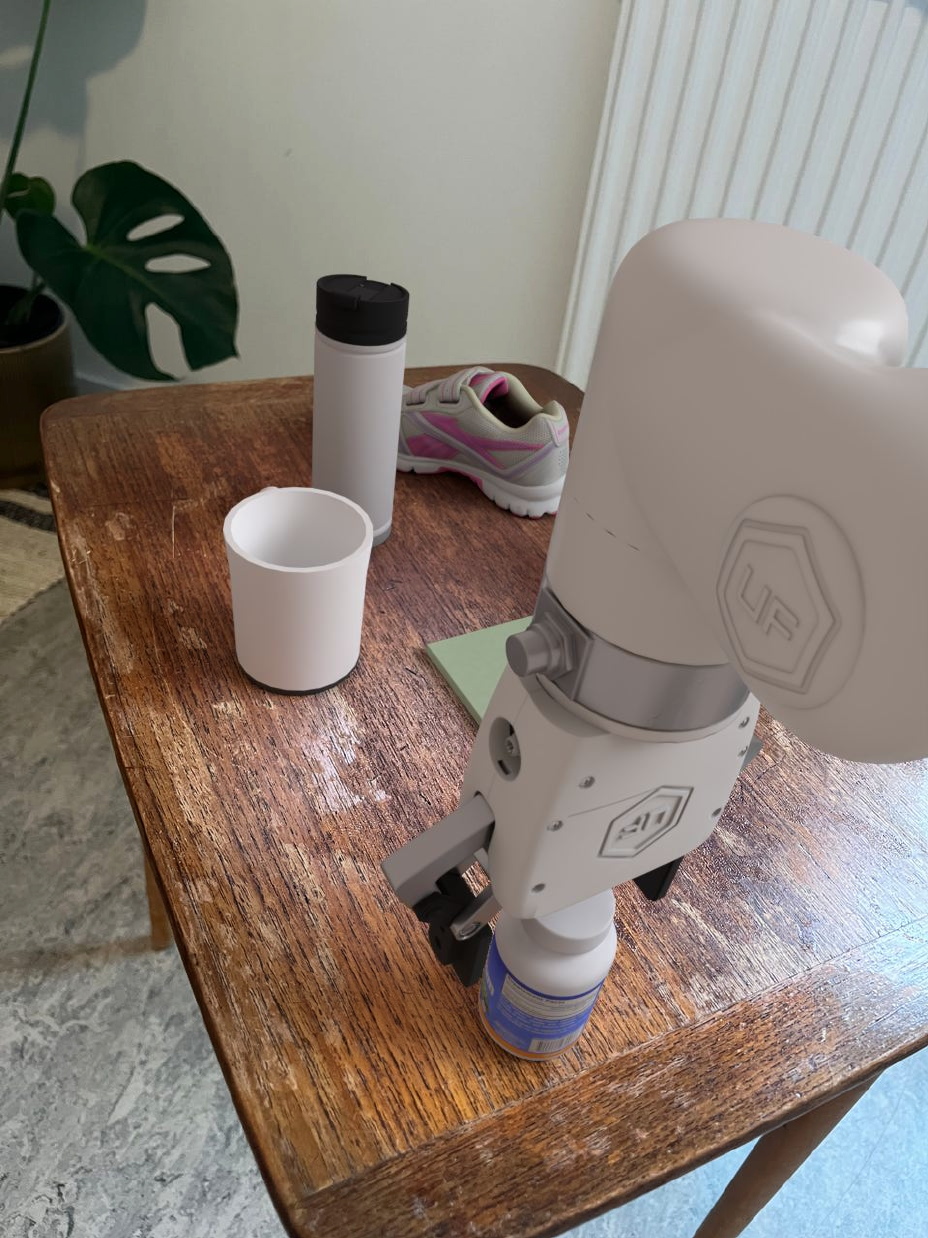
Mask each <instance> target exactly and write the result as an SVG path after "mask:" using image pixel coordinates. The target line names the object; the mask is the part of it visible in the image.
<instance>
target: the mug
mask: <svg viewBox="0 0 928 1238" xmlns="http://www.w3.org/2000/svg"><path fill="white" fill-rule="evenodd" d="M222 534H223V540H224V546H225V551H226V552H225V553H226V558H227V563H228V568H229V569H228V570H229V580H230V581H229V582H230V593H231V606H232V617H233V618H232V619H233V629H234V641H235V642H234V643H235V653H236V659H237V663H238V666H239V668H240V669H241V670H242V672H243V674H244V675H245V676H246V677H247V678H248V680H250V681H252V682H253V683H254V684H256V685H257V686H258V687H260V688H262V689H265V690H267V691H270V692H272V693H277V694H280V695H286V696H308V695H316V694H320V693H323V692H325V691H329V690H330V689H334V688H335V687H337V686H338V685H340V684H341V683H343V682H344V681H346V680H347V678H348V677H349V676H350V675H351V674H352V673H353V672H354V671H355V669H356V666H357V664H358V662H359V659H360V650H361V640H362V639H361V638H362V627H363V618H364V617H363V616H364V606H365V595H366V585H367V577H368V575H367V574H368V569H369V564H370V558H371V553H372V549H373V548H372V542H373V524H372V522H371V520H370V518H369V516H368V514H367V513H366V512H365V511H364V510H363V509H362V508H361V507H360V506H359V505H357V504H355V503H354V502H352V501H351V500H349V499H347V498H346V497H343V496H340V495H337V494H335V493H332V492H329V491H324V490H319V489H314V488H312V487H298V486H290V487H281V488H280V487H277V486H267V487H264V488H262V489H260V491H259V492H257V493H255V494H252V495H250V496H248V497H246V498H244V499H242V500H241V501H239V502H238V503H237V504H236V505H234V506H233V507H231V508H230V511H229V512H228V513H227V514H226V516H225V517H224V522H223V528H222Z"/></svg>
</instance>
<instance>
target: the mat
mask: <svg viewBox="0 0 928 1238" xmlns="http://www.w3.org/2000/svg"><path fill="white" fill-rule="evenodd" d="M532 617H533V614H532V615H528V616H525V617H521V618H518V619H514V620H510V621H506V622H502V623H500V624H499V623H498V624H496V625H492V626H489V627H485V628H481V629H478V630H474V631H471V632H467V633H464V634H459V635H456V636H452V637H448V638H445V639H441V640H438V641H434V642H430V643H427V644H426V651H425V654H426V655H427V656H428V658H429V659H430V660H431V662H432V663H433V665H434V666H435V667H436V669H437V670H438V671H439V673H440V674H441V676H442V677H443V678H444V680H445V681H446V682H447V684H448V685H449V687H450V688H451V689H452V691H453V692H454V694H455V695H456V696H457V697H458V699H459V700H460V702H461V703H462V704H463V706H464V707H465V708H466V710H467V711H468V713H469V714H470V716H471V717H472V718H473V719H474V721H475V723H476V724H477V725H478V726H479V727H480V724H481V721H482V719H483V716H484V714H485V711H486V709H487V706H488V704H489V701H490V699H491V697H492V694H493V692H494V690H495V688H496V686H497V683H498V681H499V679H500V677H501V675H502V673H503V671H504V669H505V667H506V665H507V663H508V660H507V656H506V641H507V638H508V637H509V636H510V635H513V634H517V633H520V632H524V631H525V630H526V628H527V627H528V626H530V623H531V622H532Z"/></svg>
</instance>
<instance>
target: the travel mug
mask: <svg viewBox="0 0 928 1238" xmlns="http://www.w3.org/2000/svg"><path fill="white" fill-rule="evenodd" d="M315 284H316V285H315V286H316V288H315V289H316V290H315V293H316V294H315V310H316V313H315V321H314V332H315V333H314V344H313V345H314V346H313V347H314V348H313V349H314V350H313V351H314V352H313V353H314V354H313V400H312V401H313V404H312V410H313V411H312V450H311V451H312V454H311V456H312V457H311V488H314V489H319V490H324V491H329V492H332V493H335V494H337V495H340V496H343V497H346V498H347V499H349V500H351V501H352V502H354V503H355V504H357V505H359V506H360V507H361V508H362V509H363V510H364V511H365V512H366V513H367V514H368V516H369V518H370V520H371V522H372V524H373V542H372V548H371V549H373V548H375V547H378V546H380V545H381V544H383V543H384V542H385V541H386V540H387V539H388V538H389V537H390V535H391V533H392V532H391V531H392V524H393V523H392V522H393V510H394V500H395V486H396V474H397V469H396V463H397V451H398V439H399V427H400V415H401V403H402V391H403V385H404V377H405V376H404V375H405V365H406V353H407V343H408V342H407V338H408V317H409V307H410V297H411V294H410V292H409V290H408V289H406V288H405V287H403V286H402V285H401V284H397V283H394V282H390V283H386V282H382V281H377V280H374V279H368V276H367V275H360V274H352V273H351V274H350V273H336V274H328V275H324V276H320V277H319V278H318V279H317V281H316V283H315Z"/></svg>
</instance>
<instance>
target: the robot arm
mask: <svg viewBox="0 0 928 1238" xmlns="http://www.w3.org/2000/svg"><path fill="white" fill-rule="evenodd" d="M909 331H910V323H909V314H908V310H907V305H906V302H905V300H904V298H903V296H902V294H901V292H900V290H899V289H898V288H897V287H896V285H895V284H894V282H893V281H892V280H891V278H890V277H889V276H888V275H887V274H886V273H885V272H884V271H883V270H881V269H880V268H879V267H877V266H876V265H875V264H874V263H872V262H870V261H869V260H867V259H866V258H864V257H862V256H861V255H859V254H858V253H856V252H854V251H852V250H850V249H848V248H846V247H844V246H842V245H840V244H838V243H837V242H833V241H831V240H828V239H827V238H825V237H822V236H818V235H815V234H813V233H810V232H807V231H804V230H799V229H797V228H793V227H789V226H786V225H781V224H777V223H772V222H766V221H762V220H755V219H754V220H753V219H748V218H735V217H699V218H688V219H682V220H677V221H676V220H675V221H673V222H669V223H667V224H664V225H662V226H660V227H658V228H656V229H653V230H651V231H650V232H648V233H647V234H645V235H644V236H642V237H641V238H640V239H639V240H638V241H636V243H635V244H634V245H632V246H631V248H630V249H629V250H628V252H627V253H626V254H625V256H624V257H623V259H622V261H621V262H620V264H619V265H618V268H617V270H616V272H615V274H614V276H613V278H612V281H611V284H610V287H609V290H608V294H607V297H606V302H605V306H604V309H603V314H602V318H601V323H600V325H599V330H598V334H597V339H596V344H595V348H594V352H593V357H592V361H591V365H590V369H589V374H588V378H587V383H586V387H585V391H584V396H583V399H582V404H581V407H580V412H579V417H578V421H577V425H576V428H575V433H574V438H573V442H572V446H571V451H570V453H569V463H568V467H567V472H566V476H565V480H564V484H563V489H562V493H561V497H560V502H559V506H558V510H557V513H556V514H555V519H554V522H553V528H552V532H551V536H550V540H549V545H548V549H547V553H546V559H545V561H544V566H543V571H542V575H541V579H540V583H539V588H538V592H537V596H536V601H535V604H534V609H533V613H532V615H533V617H532V622H531V623H530V626H528V627H527V628H526V630H525V631H524V632H520V633H517V634H513V635H510V636H509V637H508V638H507V641H506V656H507V660H508V663H507V665H506V667H505V669H504V671H503V673H502V675H501V677H500V679H499V681H498V683H497V686H496V688H495V690H494V692H493V694H492V697H491V699H490V701H489V704H488V706H487V709H486V711H485V714H484V716H483V719H482V721H481V724H480V726H479V727H478V730H477V733H476V736H475V739H474V742H473V744H472V748H471V751H470V755H469V757H468V760H467V761H468V762H467V765H466V768H465V772H464V776H463V780H462V785H461V789H460V794H459V798H458V804H457V808H456V809H455V810H454V811H452V812H451V813H449V814H448V815H446V816H444V817H443V818H442V819H440V820H439V821H437V822H436V823H435V824H433V825H432V826H430V827H428V828H427V829H426V830H424V831H423V832H420V834H418V835H416V836H415V837H414V838H412V839H411V840H409V841H408V842H407V843H405V844H404V845H402V846H401V847H399V848H397V849H396V850H395V851H393V852H392V853H390V854H389V855H387V856H386V857H385V858H384V859H382V861H381V863H380V870H381V872H382V874H383V876H384V877H385V879H386V881H387V883H388V885H389V886H390V889H391V890H392V893H393V894H394V896H395V897H396V898H397V899H398V900H399V901H400V902H401V903H402V904H403V905H404V906H405V907H406V908H407V909H408V910H411V911H412V912H413V913H414V915H415V916H416V918H417V921H418V922H421V923H425V924H429V926H428V932H427V936H428V941H429V944H430V947H431V950H432V951H433V953H434V955H435V957H436V958H437V960H438V962H439V964H440V965H441V966H443V967H447V966H449V965H451V966H452V969H453V970H454V971H455V973H456V975H457V977H458V979H459V981H460V983H461V984H462V986H463V987H464V988H465V989H468V988H470V987H472V986H475V985H477V984H479V981H480V979H482V976H483V972H484V968H485V964H486V961H487V957H488V953H489V949H490V945H491V941H492V938H493V934H494V931H493V929H492V927H491V925H490V924H489V922H490V921H491V920H492V919H493V918H495V916H496V915H498V914H499V912H500V910H501V909H502V908H503V910H504V911H505V912H506V913H507V915H508V916H510V917H513V918H518V919H533V918H539V917H543V916H546V915H549V914H552V913H554V912H557V911H559V910H562V909H564V908H567V907H569V906H572V905H574V904H576V903H579V902H581V901H583V900H586V899H588V898H590V897H593V896H595V895H597V894H599V893H602V892H604V891H606V890H609V889H613V888H616V887H617V886H620V885H623V884H625V883H627V882H630V881H633V882H634V884H635V885H636V886H637V888H638V889H639V890H640V892H641V893H642V894H643V896H644V897H645V898H646V899H647V901H652V902H654V903H655V902H657V901H660V900H662V899H664V898H665V897H666V896H667V894H668V891H669V889H670V888H671V885H672V883H673V882H674V879H675V877H676V875H677V873H678V870H679V868H680V866H681V864H682V862H683V860H684V858H685V855H687V854H689V853H691V852H692V851H694V850H696V849H697V848H699V847H700V846H701V845H703V843H705V842H706V841H708V840H709V838H710V837H711V835H712V833H713V832H714V830H715V828H716V826H717V824H718V823H719V820H720V818H721V816H722V814H723V812H724V811H725V808H726V805H727V803H728V801H729V799H730V797H731V795H732V794H733V790H734V788H735V785H736V781H737V780H738V777H739V776H740V775H741V773H743V771H744V770H745V769H746V768H747V767H748V766H749V765H750V763H751V762H752V761H753V760H754V759H755V758H756V757H757V755H758V754H759V753H760V752H761V751H762V749H763V748H764V742H763V741H762V739H760V738H759V737H758V736H757V735H756V733H754V732H755V729H756V725H757V721H758V718H759V715H760V710H761V705H762V706H763V708H764V710H766V711H767V713H768V714H769V715H770V716H771V717H772V718H773V719H774V720H775V721H777V722H778V724H780V725H781V726H783V727H784V728H785V729H787V730H788V731H789V733H791V734H792V735H794V736H795V737H796V738H798V739H799V740H800V741H802V742H803V743H804V744H806V745H808V746H810V747H812V748H814V749H816V750H818V751H820V752H823V753H825V754H827V755H830V756H833V757H835V758H838V759H842V760H846V761H849V762H854V763H863V764H869V765H870V764H871V765H895V764H902V763H909V762H916V761H920V760H924V759H927V758H928V367H912V366H902V364H903V362H904V359H905V356H906V353H907V347H908V343H909V338H910V337H909V336H910V333H909ZM475 863H478V865H479V866H480V868H481V870H482V871H483V874H485V876H486V878H487V880H488V881H489V883H488V884H487V885H486V886H485V887H484V888H483V889H482V890H481V891H480V892H479V893H478V894H477V895H476V896H475V894H474V893H473V891H472V890H471V888H470V886H469V884H468V883H467V881H466V879H465V877H462V876H463V875H464V874H465V873H466V872H468V871H469V869H471V867H472V866H474V864H475Z"/></svg>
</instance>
